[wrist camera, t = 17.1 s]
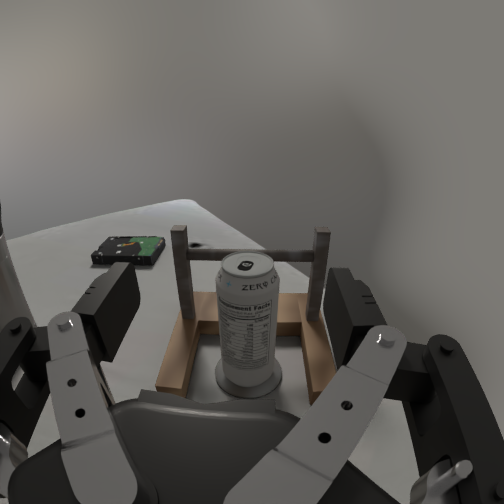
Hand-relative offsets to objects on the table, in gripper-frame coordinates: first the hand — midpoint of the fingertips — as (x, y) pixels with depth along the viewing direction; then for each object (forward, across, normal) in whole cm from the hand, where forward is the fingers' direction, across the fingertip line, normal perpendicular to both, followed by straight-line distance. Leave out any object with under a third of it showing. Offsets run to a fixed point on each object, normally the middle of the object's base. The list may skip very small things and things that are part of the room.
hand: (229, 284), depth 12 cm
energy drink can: (+14, 0, -22) cm, 26 cm away
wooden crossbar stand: (+18, 0, -22) cm, 29 cm away
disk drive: (+45, -27, -24) cm, 58 cm away
